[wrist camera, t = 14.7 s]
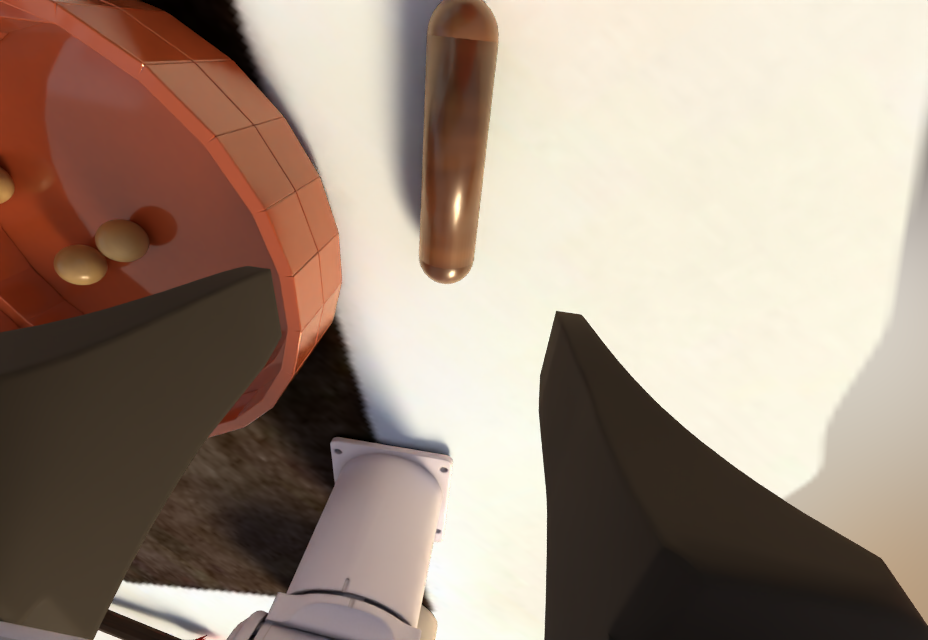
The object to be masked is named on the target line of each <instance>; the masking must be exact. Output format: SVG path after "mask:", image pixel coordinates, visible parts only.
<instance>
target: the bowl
mask: <svg viewBox="0 0 928 640" xmlns="http://www.w3.org/2000/svg"><path fill="white" fill-rule="evenodd" d="M0 167H1V168H3V169H4V170H5V171H6V172H7V173H8V174H9V175H10V176H11V178H12V180H13V182H14V186H15V189H14V193H13V195H12V197H11V198H10V199H9V200H7V201H6V202H4V203H2V204H0V332H5V331H10V330H15V329H21V328H26V327H32V326H37V325H42V324H46V323H51V322H55V321H59V320H63V319H68V318H72V317H76V316H80V315H84V314H88V313H92V312H96V311H100V310H103V309H107V308H110V307H114V306H117V305H120V304H124V303H127V302H130V301H133V300H137V299H140V298H143V297H147V296H150V295H153V294H157V293H160V292H163V291H166V290H169V289H172V288H175V287H178V286H181V285H184V284H187V283H190V282H193V281H196V280H199V279H202V278H205V277H208V276H211V275H214V274H217V273H221V272H224V271H227V270H231V269H235V268H239V267H244V266H253V267H259V268H266V269H271V275H272V280H273V286H274V292H275V298H276V303H277V309H278V315H279V321H280V327H281V332H282V336H281V338H280V340H279V342H278V344H277V346H276V348H275V349H274V351H273V353H272V355H271V356H270V358H269V360H268V361H267V363H266V365H265V366H264V368H263V369H262V370H261V372H260V373H259V374H258V375H257V377H256V378H255V379H254V381H253V382H252V383H251V384H250V386H249V387H248V388H247V389H246V391H245V392H244V393H243V394H242V396H241V397H240V398H239V399H238V401H237V402H236V403H235V404H234V406H233V407H232V408H231V409H230V411H229V412H228V413H227V414H226V416H225V417H224V418H223V419H222V421H221V422H220V423H219V424H218V425H217V427H216V428H215V429H214V430H213V432H212V433H211V434H210V436H209V437H212V436H216V435H219V434H223V433H226V432H230V431H234V430H237V429H241V428H243V427H245V426H247V425H248V424H250V423H251V422H253V421H254V420H255V419H257V418H258V417H260V416H261V415H263V414H264V413H266V412H267V411H268V410H270V409H271V408H273V407H274V406H275V404H276V403H277V401H278V400H279V399H280V397H281V396H282V394H283V393H284V392H285V390H286V389H287V387H288V386H289V385H290V383H291V382H292V380H293V379H294V378H295V376H296V375H297V373H298V372H299V371H300V369H301V368H302V366H303V365H304V364H305V362H306V361H307V359H308V358H309V357H310V355H311V354H312V352H313V351H314V350H315V348H316V346H317V345H318V343H319V342H320V340H321V339H322V337H323V336H324V334H325V333H326V331H327V329H328V328H329V326H330V325H331V323H332V321H333V318H334V314H335V310H336V305H337V301H338V297H339V293H340V288H341V284H342V273H341V259H340V245H339V233H338V229H337V226H336V223H335V220H334V217H333V214H332V211H331V208H330V205H329V202H328V199H327V196H326V193H325V190H324V187H323V184H322V181H321V178H320V177H319V174H318V172H317V171H316V169H315V167H314V166H313V164H312V162H311V161H310V159H309V157H308V156H307V154H306V152H305V151H304V149H303V147H302V146H301V144H300V142H299V141H298V139H297V137H296V136H295V134H294V132H293V131H292V129H291V127H290V126H289V124H288V122H287V121H286V119H285V118H284V117H283V115H282V114H281V113H280V112H279V111H278V109H277V108H276V107H275V106H274V105H273V104H272V103H271V102H270V101H269V99H268V98H267V97H266V96H265V95H264V94H263V93H262V92H261V91H260V90H259V88H258V87H257V86H256V85H255V84H254V83H253V82H252V81H251V80H250V79H249V77H248V76H247V75H246V74H245V73H244V72H243V71H242V70H241V69H240V68H239V66H238V65H237V64H236V63H235V62H234V61H233V60H231V59H230V58H229V57H228V56H226V55H225V54H224V53H222V52H221V51H220V50H218V49H217V48H215V47H214V46H213V45H211V44H210V43H209V42H207V41H206V40H205V39H203V38H202V37H200V36H199V35H198V34H196V33H195V32H194V31H192V30H191V29H189V28H188V27H187V26H185V25H184V24H183V23H181V22H180V21H179V20H177V19H176V18H174V17H173V16H172V15H170V14H168V13H167V12H165V11H163V10H161V9H158V8H156V7H153V6H151V5H149V4H146V3H144V2H142V1H139V0H0ZM114 219H124V220H129V221H132V222H134V223H136V224H138V225H139V226H141V227H142V228H143V229H144V230H145V232H146V233H147V235H148V238H149V248H148V251H147V252H146V254H145V255H144V256H143V257H142V258H140V259H138V260H136V261H132V262H118V261H114V260H112V259H109V258H108V257H106V256H105V255H103V256H104V257H105V259H106V261H107V265H108V269H107V272H106V274H105V276H104V277H103V278H102V279H101V280H100V281H98V282H96V283H93V284H90V285H76V284H72V283H69V282H67V281H65V280H64V279H62V278H61V277H60V276H59V275H58V274H57V273H56V271H55V269H54V258H55V256H56V254H57V253H58V252H59V251H60V250H61V249H63V248H65V247H67V246H70V245H86V246H90V247H93V248H95V249H96V250H98V251H99V252H100V250H99V249H98V247H97V245H96V242H95V234H96V231H97V229H98V228H99V227H100V226H101V225H102V224H103V223H105V222H107V221H110V220H114ZM100 253H101V252H100ZM209 437H208V438H209Z"/></svg>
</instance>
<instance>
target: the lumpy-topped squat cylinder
mask: <svg viewBox="0 0 928 640" xmlns="http://www.w3.org/2000/svg"><path fill="white" fill-rule="evenodd" d="M417 628H418V629H420V630H421V631H422V632H421V638H420V640H435V638H436V631H437V621H436V619H435V617H434V616H433V614H432V613H431V612H430V611H429V610H428V609H427V608H426V607H424V606H423V605H422V604H421V609H420V614H419V619H418V624H417Z"/></svg>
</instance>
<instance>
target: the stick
mask: <svg viewBox="0 0 928 640" xmlns="http://www.w3.org/2000/svg"><path fill="white" fill-rule="evenodd" d="M498 35H499V34H498V26H497V23H496V19H495V17H494V15H493V13H492V11H491V9H490V8H489V7H488V6H487V4H486V3H485V2H483V1H482V0H443V1H442V2H441V3H440V4H439V5H438V6H437V8H436V9H435V10H434V12H433V14H432V16H431V18H430V21H429V24H428V30H427V48H426V76H425V103H424V131H423V159H422V186H421V214H420V242H419V261H420V265H421V267H422V269H423V271H424V273H425V274H426V275H427V276H428V277H429V278H430V279H432V280H434V281H435V282H438V283H442V284H451V283H455V282H458V281H460V280H461V279H463V278H464V277H465V276H466V275H467V274H468V273H469V271H470V270H471V267H472V265H473V261H474V253H475V244H476V235H477V227H478V218H479V209H480V200H481V191H482V183H483V174H484V165H485V156H486V147H487V139H488V130H489V121H490V112H491V103H492V95H493V86H494V77H495V68H496V59H497V51H498Z"/></svg>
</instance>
